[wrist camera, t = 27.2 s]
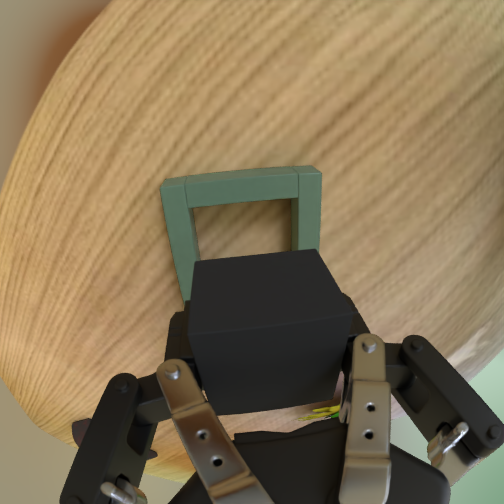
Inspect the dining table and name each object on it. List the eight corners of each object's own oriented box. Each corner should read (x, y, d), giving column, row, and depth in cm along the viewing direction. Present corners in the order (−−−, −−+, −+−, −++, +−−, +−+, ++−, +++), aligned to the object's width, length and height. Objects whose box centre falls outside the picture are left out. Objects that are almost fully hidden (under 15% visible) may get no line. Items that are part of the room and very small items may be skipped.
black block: (211, 345, 15) (213, 416, 11) (194, 260, 13) (186, 334, 9) (309, 333, 16) (332, 399, 12) (316, 247, 13) (354, 312, 9)
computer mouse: (94, 416, 31) (89, 439, 27) (162, 452, 37) (161, 473, 33) (68, 423, 32) (62, 443, 28) (131, 457, 38) (129, 475, 35)
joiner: (205, 363, 26) (205, 379, 24) (164, 178, 18) (159, 187, 16) (303, 351, 27) (308, 367, 25) (312, 165, 18) (322, 172, 16)
